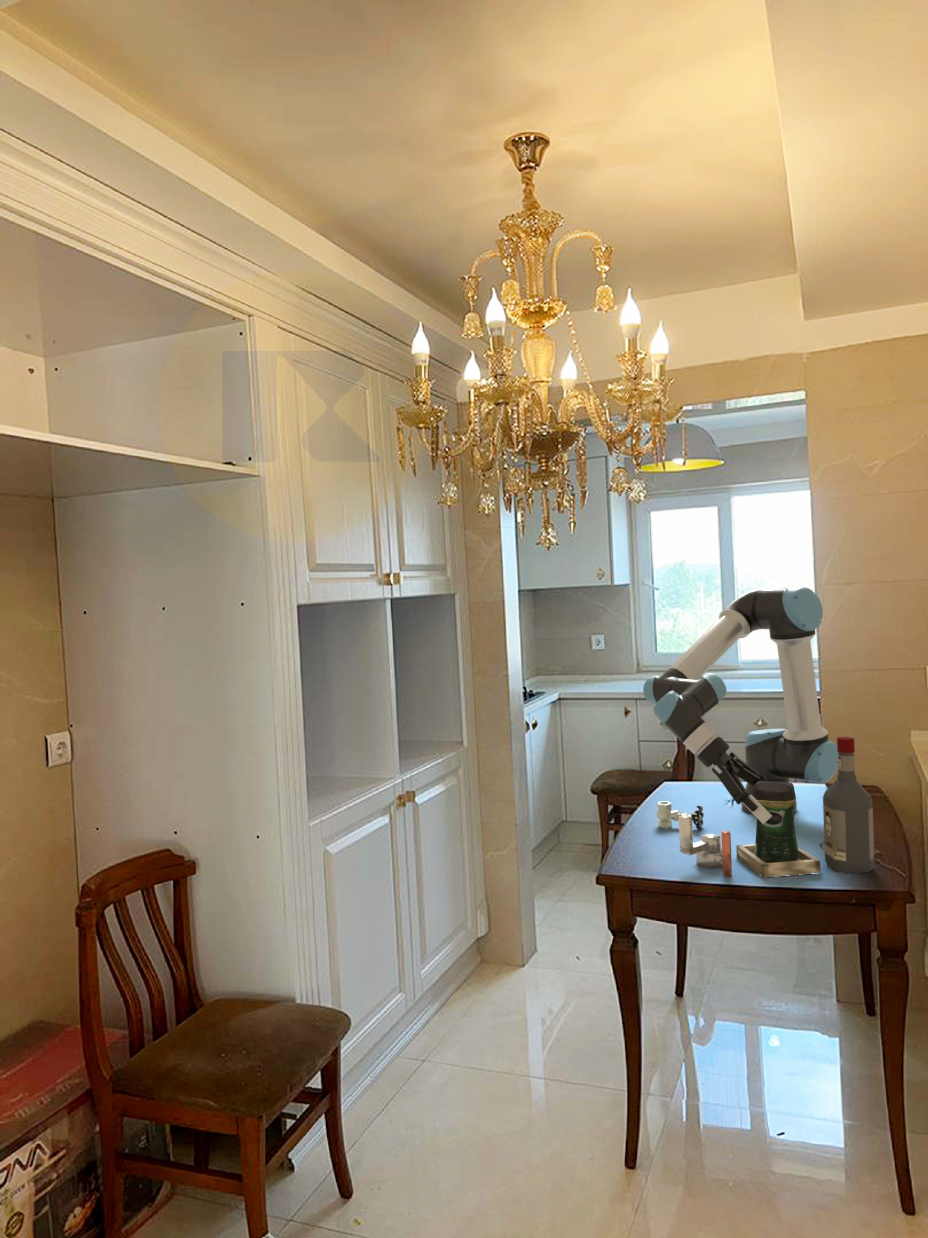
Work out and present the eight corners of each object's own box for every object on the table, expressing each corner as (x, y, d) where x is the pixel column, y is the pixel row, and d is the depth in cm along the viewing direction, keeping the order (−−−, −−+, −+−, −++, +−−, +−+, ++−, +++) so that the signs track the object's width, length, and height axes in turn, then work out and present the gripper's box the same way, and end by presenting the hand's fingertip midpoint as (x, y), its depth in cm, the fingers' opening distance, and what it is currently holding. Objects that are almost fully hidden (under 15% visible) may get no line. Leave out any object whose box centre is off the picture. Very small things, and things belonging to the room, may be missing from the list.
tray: (789, 853, 220) (789, 841, 220) (820, 873, 205) (820, 860, 204) (736, 857, 219) (736, 845, 219) (763, 878, 203) (763, 865, 203)
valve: (654, 829, 246) (699, 833, 241) (653, 805, 246) (698, 808, 241) (660, 823, 252) (704, 826, 247) (659, 799, 252) (703, 802, 247)
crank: (709, 845, 218) (707, 806, 218) (724, 849, 215) (723, 809, 214) (675, 857, 211) (673, 816, 210) (690, 861, 207) (688, 820, 207)
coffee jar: (800, 857, 213) (798, 779, 212) (796, 867, 206) (793, 787, 205) (758, 853, 218) (755, 777, 217) (752, 863, 211) (749, 784, 210)
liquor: (859, 860, 213) (856, 733, 211) (878, 872, 204) (874, 740, 202) (821, 862, 213) (817, 735, 211) (838, 874, 203) (834, 742, 202)
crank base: (720, 858, 219) (718, 817, 219) (742, 876, 206) (741, 832, 205) (692, 860, 219) (690, 819, 218) (712, 878, 205) (711, 835, 205)
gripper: (709, 746, 230) (772, 809, 224) (681, 766, 209) (750, 837, 202) (730, 726, 227) (794, 789, 221) (703, 745, 206) (774, 816, 199)
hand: (773, 812), depth 211 cm, fingers open, 13 cm apart
